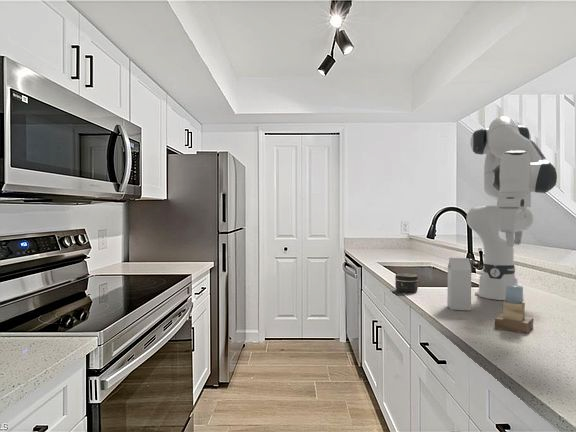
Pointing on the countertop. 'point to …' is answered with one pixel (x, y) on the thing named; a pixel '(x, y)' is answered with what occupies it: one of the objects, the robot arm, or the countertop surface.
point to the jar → (406, 283)
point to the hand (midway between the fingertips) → (514, 245)
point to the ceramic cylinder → (514, 294)
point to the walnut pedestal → (514, 324)
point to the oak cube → (514, 311)
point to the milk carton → (459, 284)
